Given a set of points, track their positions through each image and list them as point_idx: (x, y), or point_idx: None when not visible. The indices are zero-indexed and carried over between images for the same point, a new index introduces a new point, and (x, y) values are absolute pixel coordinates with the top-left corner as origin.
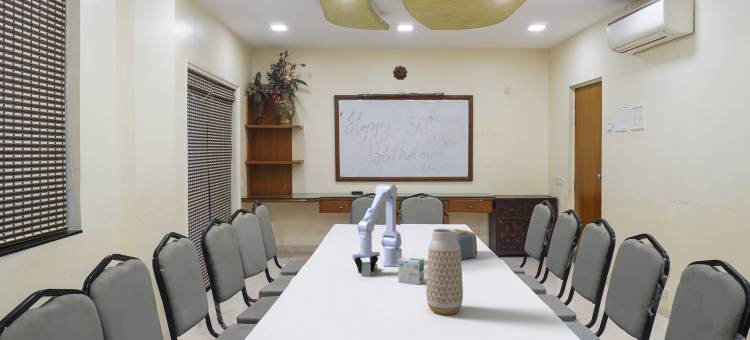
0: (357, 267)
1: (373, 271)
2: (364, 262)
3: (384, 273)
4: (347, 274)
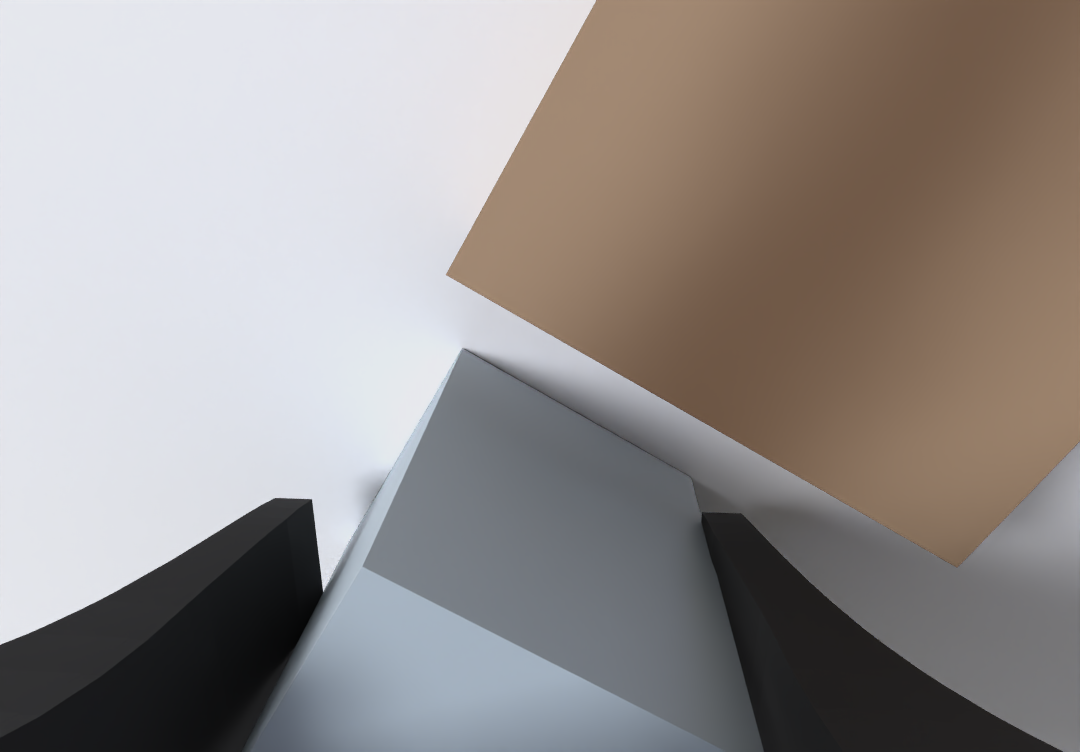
0: (162, 585)
1: None
2: (433, 723)
3: (1033, 607)
4: (26, 204)
